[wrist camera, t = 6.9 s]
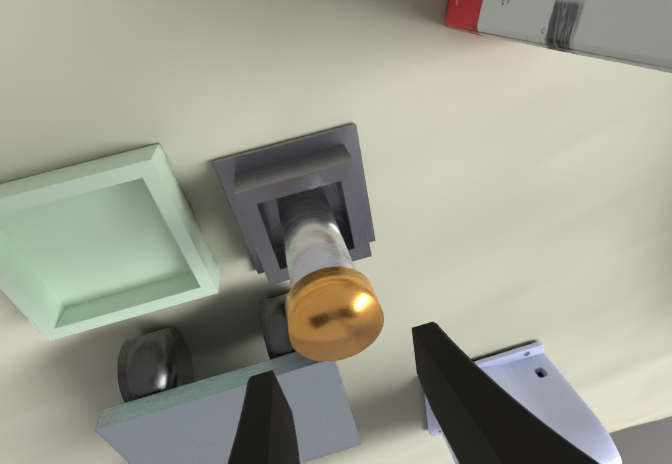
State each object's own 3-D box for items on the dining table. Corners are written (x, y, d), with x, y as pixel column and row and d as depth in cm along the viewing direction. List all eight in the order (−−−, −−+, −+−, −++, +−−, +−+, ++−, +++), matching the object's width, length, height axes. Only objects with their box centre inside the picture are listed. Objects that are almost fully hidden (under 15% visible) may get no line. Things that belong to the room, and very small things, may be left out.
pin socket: (354, 123, 17) (368, 140, 15) (373, 237, 21) (387, 263, 19) (213, 160, 17) (210, 182, 15) (257, 270, 21) (259, 299, 19)
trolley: (311, 270, 21) (328, 339, 17) (345, 383, 27) (364, 454, 23) (110, 327, 21) (78, 414, 16) (190, 430, 27) (181, 513, 22)
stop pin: (326, 169, 18) (377, 279, 11) (338, 223, 20) (388, 345, 13) (263, 187, 18) (277, 308, 11) (281, 239, 19) (302, 371, 13)
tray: (159, 142, 16) (151, 159, 15) (219, 269, 20) (218, 293, 19) (-39, 194, 16) (-69, 216, 14) (63, 313, 20) (49, 341, 18)
